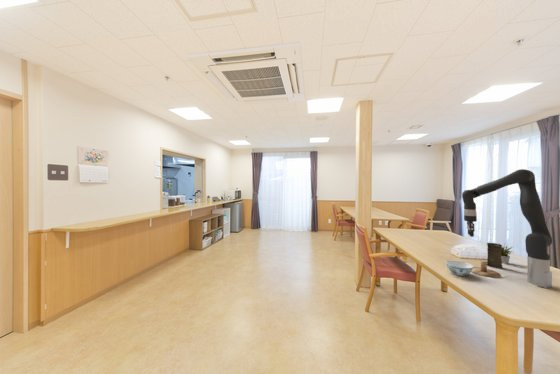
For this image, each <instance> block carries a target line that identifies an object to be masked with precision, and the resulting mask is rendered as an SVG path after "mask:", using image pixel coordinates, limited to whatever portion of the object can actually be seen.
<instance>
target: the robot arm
mask: <svg viewBox="0 0 560 374" xmlns="http://www.w3.org/2000/svg"><path fill="white" fill-rule="evenodd" d="M515 184H518V187H519V190H520V195H519V206H520V210H521V214H522V215H523V217H524V219H526V221H527V222H528V224H529V226H530V229H531V233H529V234H527V235H526V236H525V252H526V254H527V283H529V284H531V285H534V286H536V287H540V288H545V289H548V288H552V287H553V284H552V283H553V272H552V271H551V255H550V254H549V253H548V247H550V246H552V244H553V238H552V236H551V235H552V234H551V233H550V231H549V228H548V225H547V222H546V218H545V214H544V208H543V205H542V202H541V199H540V195H539V193H538V190H537V187H536V186H537V185H536V176H535V173H534V172H533V171H532V170H529V169H523V168H521V169H517V170H515V171H512V172H511V173H509V174H507V175H505V176H502V177H501V178H498V179H496V180H493V181H489V182H487V183H484V184H481V185H478V186H477V187H475V188H473V189H466V190H464V191H463V192H462V194H461V197H462V201H463V221H465V222H466V229H467V234H468V235H469V237H471V238H474V236H475V234H474V233H475V223H474V222H478V218H477V215H478V213H477V203H476V202H474V201H475V200H474V199H476V198H478V197H481V196H482V195H487V194H490V193H494V192H496V191H498V190H500V189H502V188H504V187H508V186H512V185H515Z"/></svg>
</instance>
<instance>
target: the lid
mask: <svg viewBox="0 0 560 374" xmlns="http://www.w3.org/2000/svg"><path fill="white" fill-rule="evenodd" d="M487 267H488V266H487V261H484V260H481V261H480V267H479V266H473V269H472V271H471V274H473V273H474V274H473V275H476V276H479V275H480V276H479V277H482V276H484V277H483V278H485V277H490V278H494V279H499V278H501V277H500V276H501V275H500V274H501V273H500V272H498V271H495V270H493V269H489V268H487Z"/></svg>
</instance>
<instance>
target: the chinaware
mask: <svg viewBox="0 0 560 374" xmlns="http://www.w3.org/2000/svg"><path fill="white" fill-rule="evenodd" d="M445 265H446V267H447V269H448V270H449V271H450V272H451V273H452V274H454V275H455V276H461V277H465V276H466V275H469V274H470V272H471V271H472V269H473V267H474V266H473V264H471V263H467V262H464V261H460V260H452V259H451V260H450V259H449V260H446V261H445Z"/></svg>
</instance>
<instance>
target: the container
mask: <svg viewBox="0 0 560 374" xmlns="http://www.w3.org/2000/svg"><path fill="white" fill-rule="evenodd" d="M486 247H487V249H486V250H487V258H486V260H487V261H486V262H487V267H490V268H492V269H498V270H499V269H503V263H502V259H501V251H502V250H501V248H502V247H503V245H502V244H500V243H495V242H487V243H486Z"/></svg>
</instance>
